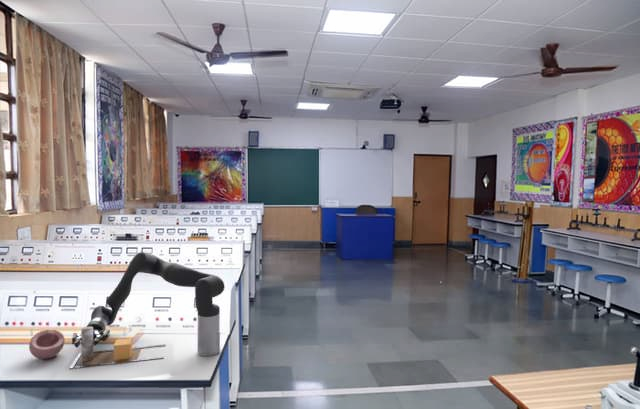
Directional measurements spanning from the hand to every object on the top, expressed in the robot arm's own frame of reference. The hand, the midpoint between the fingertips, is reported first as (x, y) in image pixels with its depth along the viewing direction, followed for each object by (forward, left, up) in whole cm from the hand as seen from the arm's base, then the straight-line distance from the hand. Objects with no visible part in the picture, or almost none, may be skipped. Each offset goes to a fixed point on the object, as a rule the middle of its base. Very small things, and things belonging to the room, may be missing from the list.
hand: (85, 344), depth 154 cm
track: (-13, -2, -9) cm, 16 cm away
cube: (-13, -2, -8) cm, 15 cm away
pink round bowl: (+17, -12, -9) cm, 23 cm away
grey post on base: (-8, -2, -9) cm, 12 cm away
